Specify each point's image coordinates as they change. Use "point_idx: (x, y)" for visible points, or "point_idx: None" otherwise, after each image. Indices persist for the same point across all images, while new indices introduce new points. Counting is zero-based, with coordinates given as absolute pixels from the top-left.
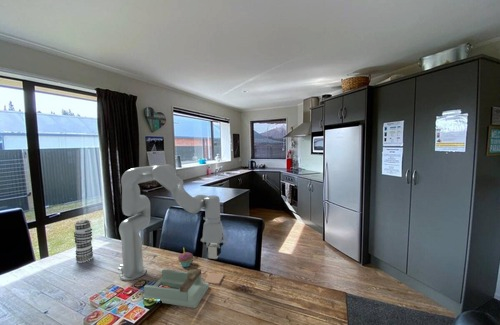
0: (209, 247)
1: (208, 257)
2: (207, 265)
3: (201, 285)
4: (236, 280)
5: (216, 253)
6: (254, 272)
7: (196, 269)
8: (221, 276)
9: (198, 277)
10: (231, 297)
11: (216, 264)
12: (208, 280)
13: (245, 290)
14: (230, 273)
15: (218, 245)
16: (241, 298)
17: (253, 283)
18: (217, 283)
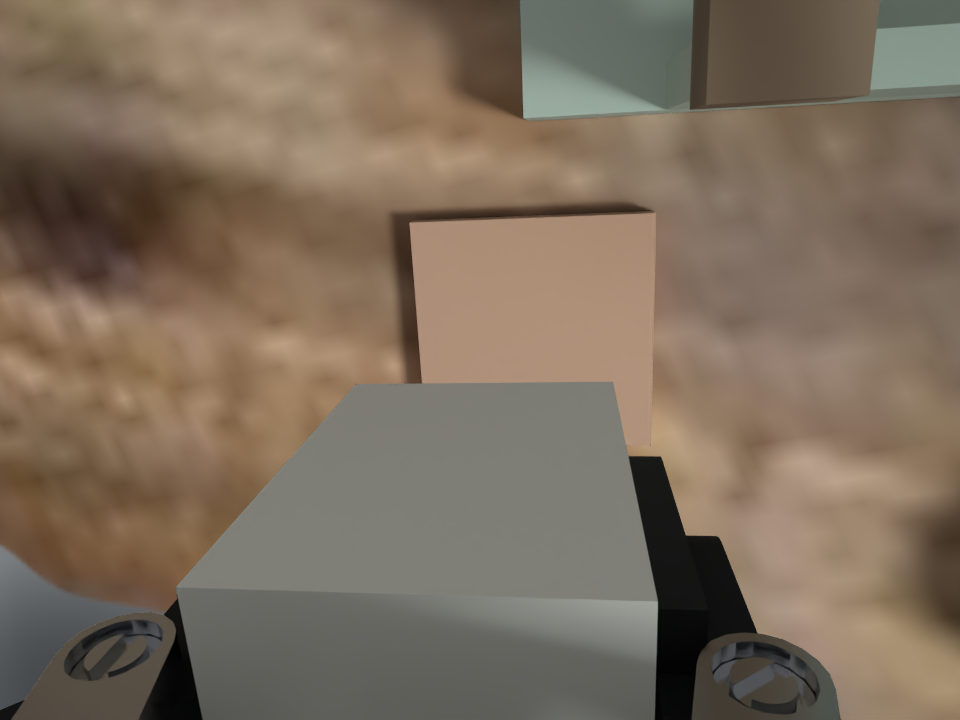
0: (562, 580)
1: (608, 389)
2: (780, 628)
3: (618, 14)
4: (227, 369)
5: (296, 454)
6: (88, 565)
7: (829, 68)
8: None
9: None
10: (132, 5)
11: None
12: (594, 255)
13: (33, 195)
14: None
15: (66, 716)
16: (7, 24)
17: (6, 353)
18: (429, 221)
